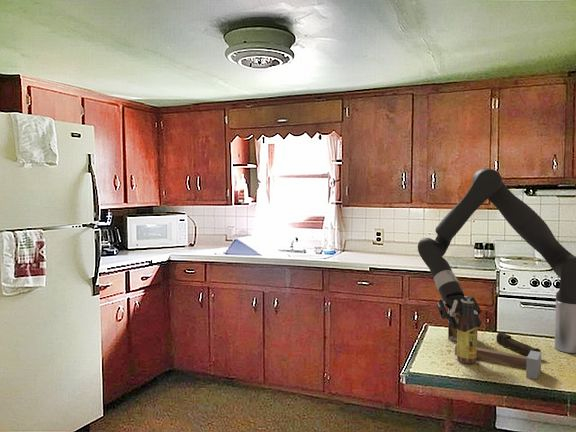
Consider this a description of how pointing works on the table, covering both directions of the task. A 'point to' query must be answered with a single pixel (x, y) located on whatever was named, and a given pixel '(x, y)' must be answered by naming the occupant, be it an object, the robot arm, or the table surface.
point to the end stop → (533, 365)
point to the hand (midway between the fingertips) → (467, 327)
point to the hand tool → (514, 344)
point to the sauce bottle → (467, 334)
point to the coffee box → (453, 333)
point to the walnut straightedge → (500, 357)
